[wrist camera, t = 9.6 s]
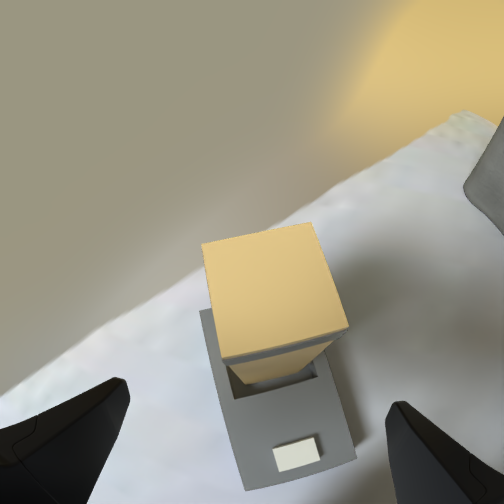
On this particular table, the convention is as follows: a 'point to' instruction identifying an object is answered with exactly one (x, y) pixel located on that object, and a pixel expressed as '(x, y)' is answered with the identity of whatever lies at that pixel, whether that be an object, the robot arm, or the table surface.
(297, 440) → the bar
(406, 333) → the table surface
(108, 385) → the robot arm
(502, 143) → the flask
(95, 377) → the table surface
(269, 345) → the plug
